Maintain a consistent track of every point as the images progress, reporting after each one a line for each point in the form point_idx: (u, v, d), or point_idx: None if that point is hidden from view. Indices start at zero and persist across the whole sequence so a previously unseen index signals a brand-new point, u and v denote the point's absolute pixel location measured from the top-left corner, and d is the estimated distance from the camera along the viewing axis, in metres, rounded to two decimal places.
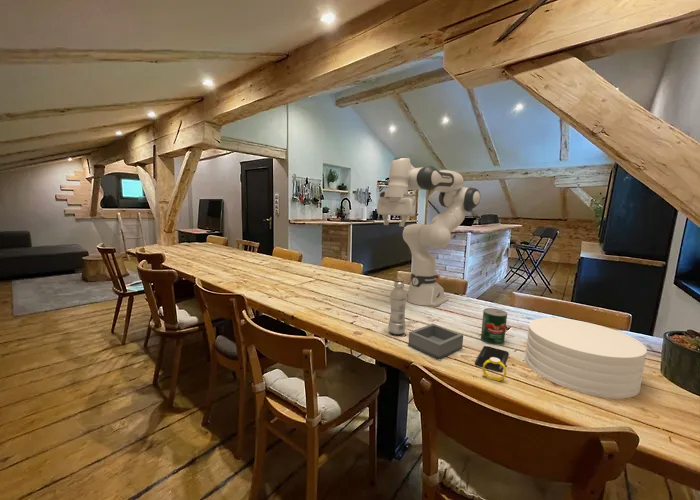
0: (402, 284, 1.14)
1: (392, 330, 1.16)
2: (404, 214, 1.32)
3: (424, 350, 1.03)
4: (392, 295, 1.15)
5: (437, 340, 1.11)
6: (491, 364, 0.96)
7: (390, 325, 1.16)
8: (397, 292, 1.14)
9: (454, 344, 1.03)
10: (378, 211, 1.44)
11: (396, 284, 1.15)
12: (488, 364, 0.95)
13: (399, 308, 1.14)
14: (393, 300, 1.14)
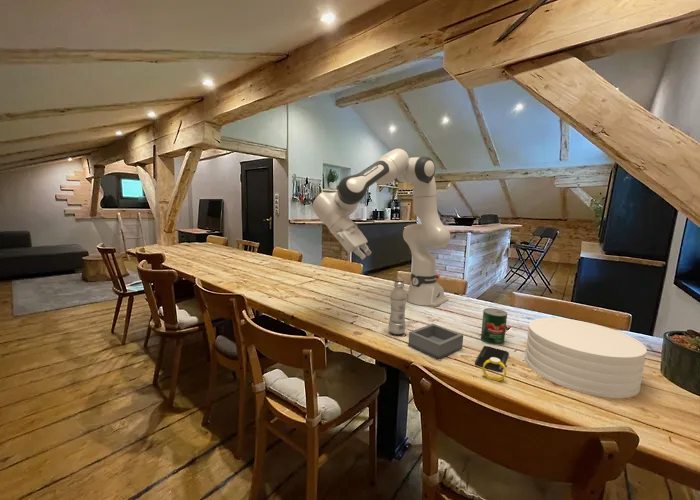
0: (402, 284, 1.14)
1: (392, 330, 1.16)
2: None
3: (424, 350, 1.03)
4: (392, 295, 1.15)
5: (437, 340, 1.11)
6: (491, 364, 0.96)
7: (390, 325, 1.16)
8: (397, 292, 1.14)
9: (454, 344, 1.03)
10: None
11: (396, 284, 1.15)
12: (488, 364, 0.95)
13: (399, 308, 1.14)
14: (393, 300, 1.14)
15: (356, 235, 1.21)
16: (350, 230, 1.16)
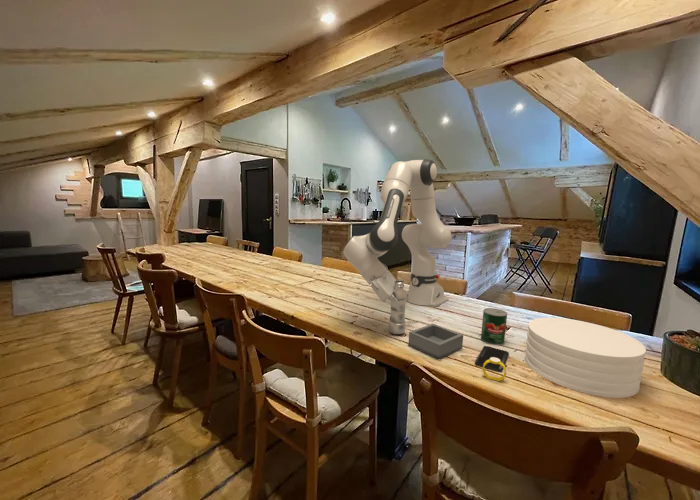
0: (402, 284, 1.14)
1: (392, 330, 1.16)
2: None
3: (424, 350, 1.03)
4: None
5: (437, 340, 1.11)
6: (491, 364, 0.96)
7: (390, 325, 1.16)
8: (397, 291, 1.14)
9: (454, 344, 1.03)
10: None
11: (396, 283, 1.15)
12: (488, 364, 0.96)
13: (399, 307, 1.14)
14: None
15: (388, 279, 1.19)
16: (383, 276, 1.15)
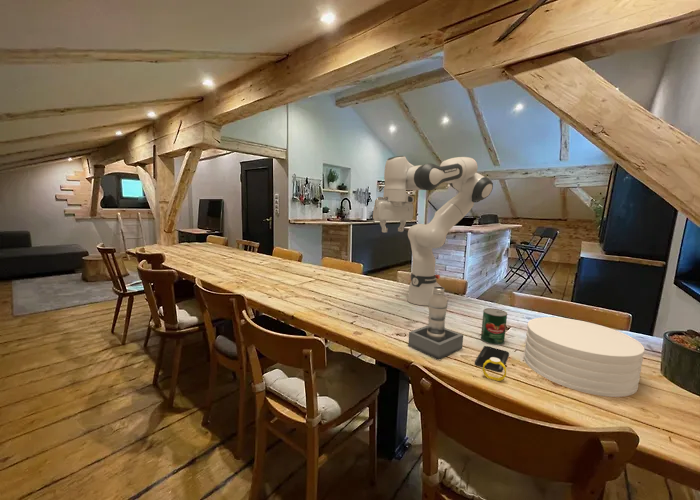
0: (443, 290, 1.03)
1: None
2: None
3: (424, 350, 1.03)
4: (431, 303, 1.03)
5: None
6: (491, 364, 0.96)
7: (429, 336, 1.05)
8: (437, 299, 1.03)
9: (454, 344, 1.03)
10: None
11: (435, 290, 1.04)
12: (488, 364, 0.96)
13: (439, 317, 1.03)
14: (433, 308, 1.03)
15: (400, 210, 1.26)
16: (394, 204, 1.23)
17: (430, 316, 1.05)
